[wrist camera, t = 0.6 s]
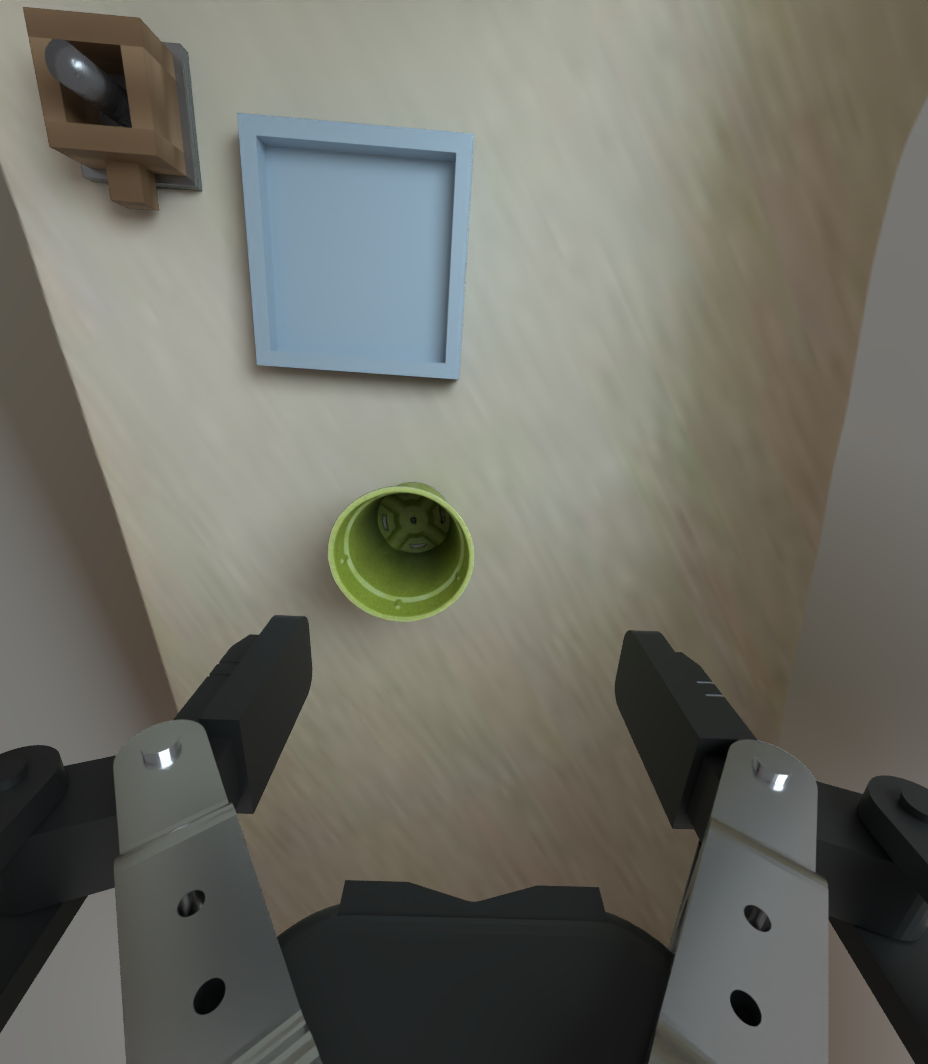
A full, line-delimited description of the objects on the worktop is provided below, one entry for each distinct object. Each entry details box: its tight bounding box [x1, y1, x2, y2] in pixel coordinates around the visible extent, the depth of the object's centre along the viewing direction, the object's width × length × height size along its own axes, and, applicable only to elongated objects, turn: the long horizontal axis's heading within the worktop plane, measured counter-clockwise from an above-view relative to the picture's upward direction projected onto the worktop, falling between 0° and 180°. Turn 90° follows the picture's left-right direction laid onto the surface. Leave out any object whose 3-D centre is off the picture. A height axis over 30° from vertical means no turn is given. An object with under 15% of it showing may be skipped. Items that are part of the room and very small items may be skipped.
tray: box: [237, 113, 474, 379], centre depth 31 cm, size 14×14×2 cm
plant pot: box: [328, 482, 474, 622], centre depth 34 cm, size 9×9×9 cm
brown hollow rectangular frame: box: [23, 7, 186, 210], centre depth 27 cm, size 8×6×3 cm
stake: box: [45, 39, 202, 191], centre depth 26 cm, size 7×7×6 cm
